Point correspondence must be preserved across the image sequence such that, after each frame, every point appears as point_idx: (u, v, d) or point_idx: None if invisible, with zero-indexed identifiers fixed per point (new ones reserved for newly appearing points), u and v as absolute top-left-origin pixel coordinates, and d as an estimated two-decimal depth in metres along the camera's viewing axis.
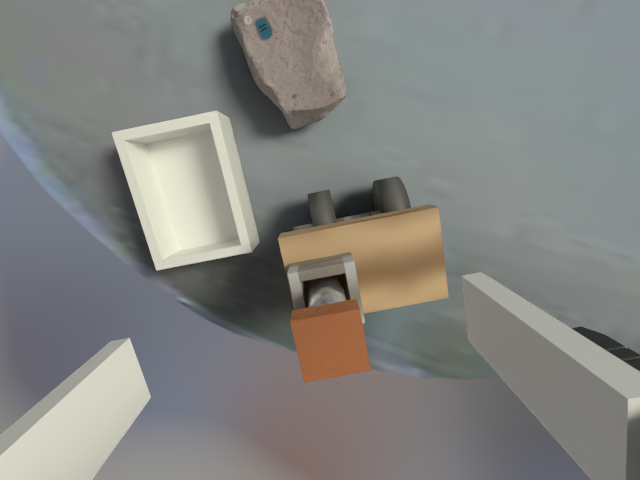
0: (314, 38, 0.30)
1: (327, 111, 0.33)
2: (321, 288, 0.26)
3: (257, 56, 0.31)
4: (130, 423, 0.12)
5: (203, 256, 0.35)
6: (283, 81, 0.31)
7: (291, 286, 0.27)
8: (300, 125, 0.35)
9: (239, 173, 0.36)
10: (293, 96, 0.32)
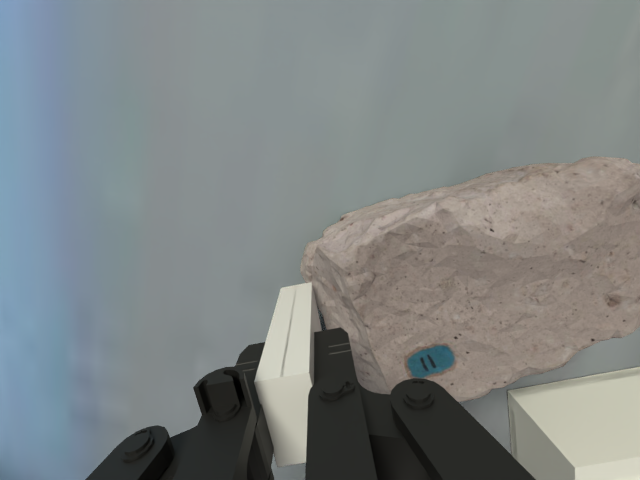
0: (480, 252, 0.11)
1: None
2: None
3: (493, 378, 0.13)
4: None
5: None
6: (566, 324, 0.12)
7: None
8: None
9: None
10: (611, 303, 0.12)
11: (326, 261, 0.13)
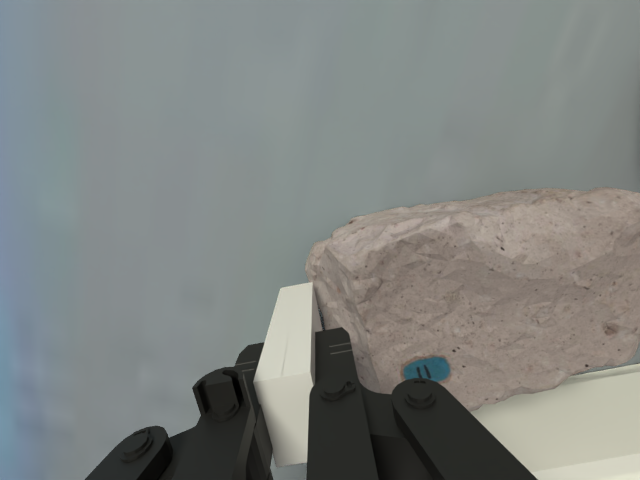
0: (488, 269, 0.11)
1: None
2: None
3: (485, 394, 0.13)
4: None
5: None
6: (562, 348, 0.12)
7: None
8: None
9: (585, 401, 0.17)
10: (608, 331, 0.12)
11: (334, 262, 0.13)
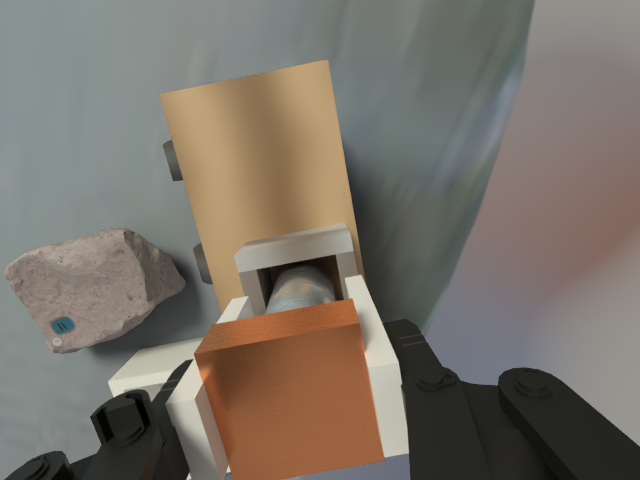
0: (58, 272, 0.24)
1: (151, 250, 0.26)
2: None
3: (92, 335, 0.26)
4: None
5: None
6: (114, 308, 0.25)
7: None
8: (178, 278, 0.28)
9: (195, 347, 0.29)
10: (130, 298, 0.25)
11: None
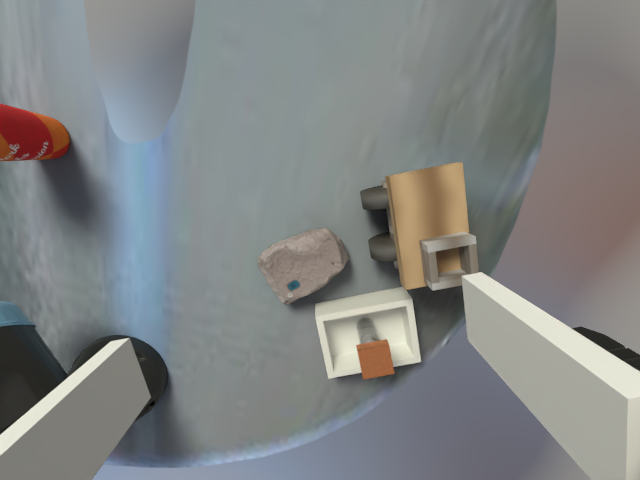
0: (295, 255, 0.46)
1: (336, 237, 0.47)
2: None
3: (310, 288, 0.48)
4: (130, 423, 0.12)
5: (412, 330, 0.50)
6: (323, 270, 0.47)
7: (442, 288, 0.39)
8: (346, 252, 0.50)
9: (353, 300, 0.52)
10: (332, 263, 0.47)
11: (261, 261, 0.48)
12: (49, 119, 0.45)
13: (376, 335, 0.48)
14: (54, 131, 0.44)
